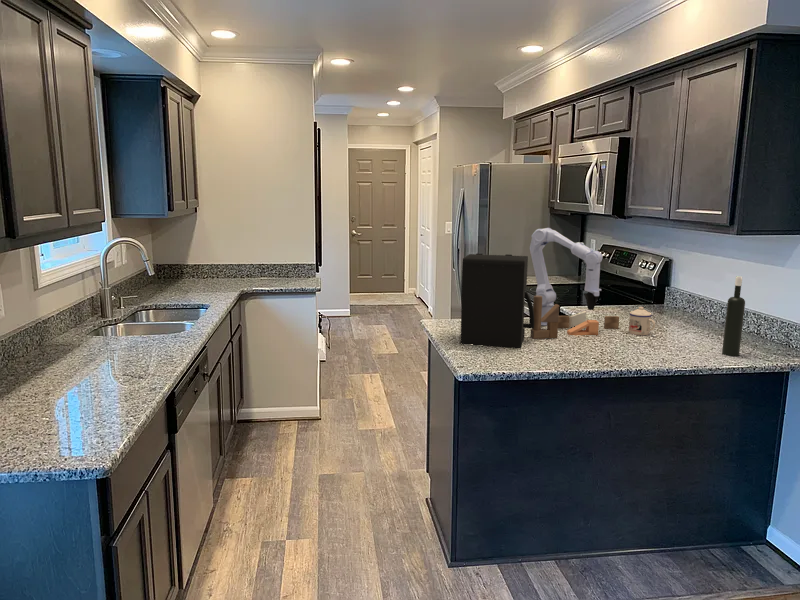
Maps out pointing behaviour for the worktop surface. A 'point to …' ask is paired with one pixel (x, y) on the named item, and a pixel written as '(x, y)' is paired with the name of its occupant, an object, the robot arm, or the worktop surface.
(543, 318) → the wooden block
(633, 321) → the teacup with lid
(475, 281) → the black upright box
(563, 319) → the brown rectangular block
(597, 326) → the wedge
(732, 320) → the wine bottle
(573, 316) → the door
